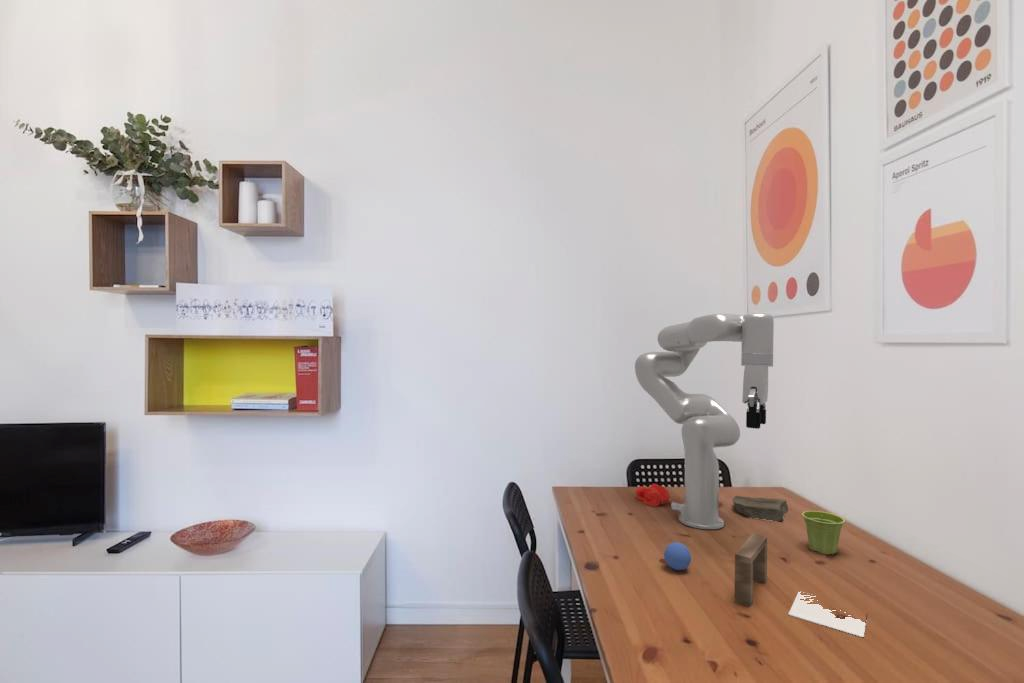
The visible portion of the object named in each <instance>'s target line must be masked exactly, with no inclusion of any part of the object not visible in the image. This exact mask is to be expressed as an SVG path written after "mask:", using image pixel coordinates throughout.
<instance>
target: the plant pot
mask: <svg viewBox="0 0 1024 683" xmlns="http://www.w3.org/2000/svg"><path fill="white" fill-rule="evenodd" d="M801 515H802V517H803V520H804V522H805V527H806V533H807V534H806V535H807V540H808V548H809V549H810V550H811V551H814V552H818V553H819V554H821V553H822V555H829V554H832V555H834V554H837V553H838V552H837V551H838V546H839V541H840V535H841V530H842V528H843V527H844V526H843V525H844V524H845V522H846V520H845V519H844V518H843V517H841V516H839V515H837V514H834V513H831V512H826V511H820V510H819V511H818V510H806V511H803V512H802V513H801Z"/></svg>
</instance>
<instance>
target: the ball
mask: <svg viewBox="0 0 1024 683" xmlns="http://www.w3.org/2000/svg"><path fill="white" fill-rule="evenodd" d="M663 557H664V560H665V563H666V564H667V566H669V567H670V568H671V569H673V570H676V571H682V570H683V571H684V570H685V569H687V568H688V567H689V566H690V564H691V562H692V554H691V552H690V550H689V548H688V547H687V546H686V545H685V544H683V543H682V542H677V541H675V542H670V543H669V544H667V545H666V547H665V549H664V551H663Z"/></svg>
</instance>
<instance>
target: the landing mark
mask: <svg viewBox="0 0 1024 683" xmlns="http://www.w3.org/2000/svg"><path fill="white" fill-rule="evenodd" d="M801 592H803V591H800V592H799V591H798V592H797V595H796V596H795V599H794V600H793V603H792V605H791V607H790V610H789V612H788V616H791V617H793V618H796V619H800V620H804V621H807V622H809V623H813V624H815V625H816V624H817V625H820V626H822V625H823V626H822V627H826V626H827V628H830V629H832V628H833V630H835V629H836V631H839V630H840V631H839V632H842V631H843V633H845V632H846V634H848V633H849V634H848V635H852V634H853V635H852V636H855V635H856V636H855V637H858V636H859V637H858V638H861V637H864V638H865V634H864V633H865V632H866V627H865V626H867V622H866V623H865V622H862V621H861V620H860V619H854V618H852V617H845V619H840V618H835V617H836V616H835V615H834V614H832V613H830V612H832V611H836V610H832V611H831V610H829V609H823V607H822V606H821V605H819V604H807V603H810V602H813V601H812V600H814V599H809V600H810V601H804V600H805V599H806V598H811V597H816V596H817V595H815V596H810V595H801V594H800V593H801ZM803 593H805V592H803ZM804 596H810V597H804ZM800 599H804V600H800ZM817 601H818V600H817ZM840 611H841V610H840ZM844 613H846V612H844ZM848 616H851V615H848Z"/></svg>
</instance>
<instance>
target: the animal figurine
mask: <svg viewBox="0 0 1024 683" xmlns="http://www.w3.org/2000/svg"><path fill="white" fill-rule="evenodd" d="M635 494H636V497H635V498H636V499H639V500H640V501H642V503H644V504H645V505H647V506H651V507H655V508H656V507H657V506H659V505H660V504H661V505H662V504H666V503H668V502H669V501H670V499H671V495H670V493H669V491H668V489H667V488H666V487H664V486H662V485H658V484H657V483H652V484H651V485H649V487H645V485H641V486H639V487H636V488H635Z"/></svg>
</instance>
